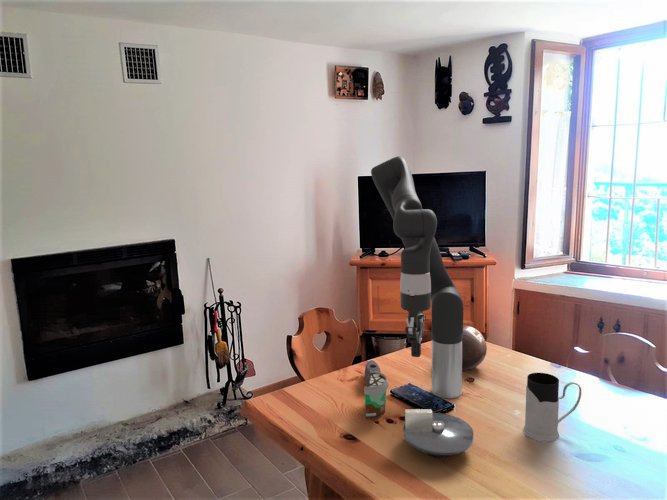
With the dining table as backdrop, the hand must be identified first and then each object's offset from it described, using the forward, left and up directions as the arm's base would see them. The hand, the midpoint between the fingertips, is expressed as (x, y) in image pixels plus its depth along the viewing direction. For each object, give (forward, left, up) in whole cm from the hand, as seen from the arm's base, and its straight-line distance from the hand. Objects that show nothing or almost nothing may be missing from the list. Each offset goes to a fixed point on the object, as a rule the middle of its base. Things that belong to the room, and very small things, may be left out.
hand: (416, 355), depth 124 cm
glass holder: (-15, +32, -23) cm, 42 cm away
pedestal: (+3, +6, -22) cm, 23 cm away
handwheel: (+3, +6, -19) cm, 20 cm away
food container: (-10, -14, -23) cm, 28 cm away
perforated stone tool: (-28, -22, -23) cm, 42 cm away
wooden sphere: (-50, +4, -23) cm, 55 cm away
